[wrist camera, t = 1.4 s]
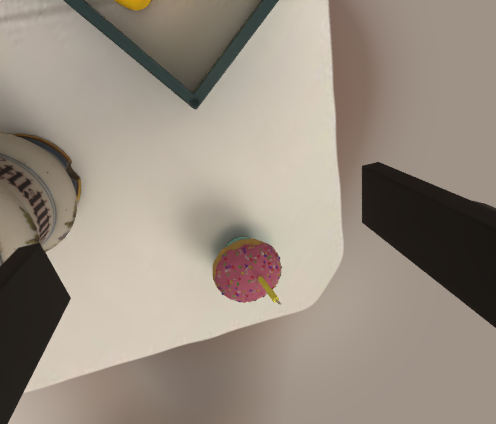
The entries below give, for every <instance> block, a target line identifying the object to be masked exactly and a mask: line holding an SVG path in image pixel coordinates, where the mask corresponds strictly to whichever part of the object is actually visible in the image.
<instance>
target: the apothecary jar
mask: <svg viewBox="0 0 496 424" xmlns="http://www.w3.org/2000/svg"><path fill="white" fill-rule="evenodd" d="M71 162H72V161H71V159H70V158H69V157H68V156H67V155H66V154H65V153H64V152H63V151H62V150H61V149H60V148H58V147H57V146H56V145H54V144H52V143H50V142H48V141H46V140H44V139H41V138H38V137H35V136H31V135H24V134H12V135H11V134H7V133H3V132H0V266H1V265H2V264H3V263H4V262H5V261H6V260H7V259H8V258H9V257H10V256H11V255H12V254H13V253H14V251H15V250H16V249H17V248H19V247H23V246H27V245H31V244H35V243H40V244H41V246H42V248H43V249H44V251H45V252H46V251H48V250H50V249H51V248H53V247H55V246H56V245H57V244H58V243H60V242H61V241H62V240H63V239H64V238H65V236H66V235H67V234H68V232H69V231H70V229H71V227H72V225H73V223H74V220H75V217H76V211H77V203H78V200H79V198H80V194H81V180H80V177H79V176H78V175H77V174H76V173H75V172H74V171H73V170H72V168H71Z"/></svg>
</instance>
